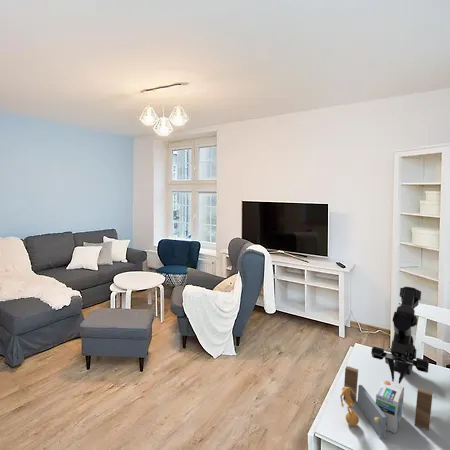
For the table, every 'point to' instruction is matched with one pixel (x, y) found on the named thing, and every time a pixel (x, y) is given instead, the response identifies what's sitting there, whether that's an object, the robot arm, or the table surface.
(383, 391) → the light bulb box
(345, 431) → the table surface
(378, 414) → the gate
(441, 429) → the table surface
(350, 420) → the figurine
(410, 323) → the robot arm
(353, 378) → the wooden fence posts
